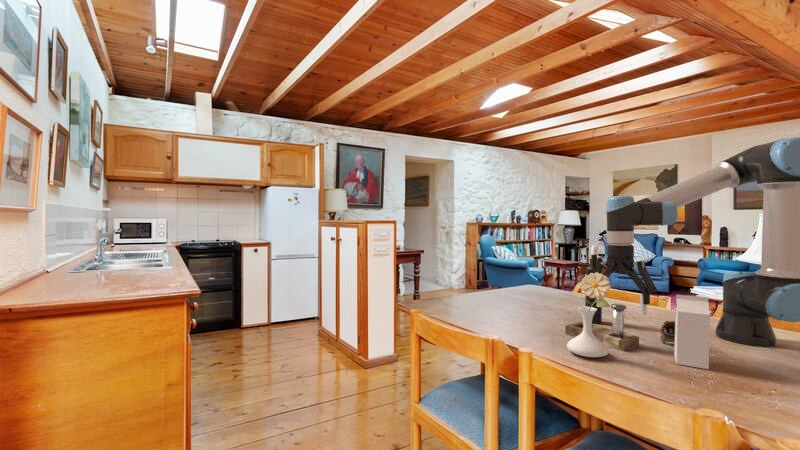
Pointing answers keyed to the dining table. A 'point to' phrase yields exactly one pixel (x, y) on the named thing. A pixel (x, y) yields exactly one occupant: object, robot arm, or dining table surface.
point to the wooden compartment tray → (605, 336)
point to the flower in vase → (591, 317)
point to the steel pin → (618, 320)
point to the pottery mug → (668, 332)
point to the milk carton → (692, 331)
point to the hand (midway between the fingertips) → (620, 310)
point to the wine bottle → (598, 314)
